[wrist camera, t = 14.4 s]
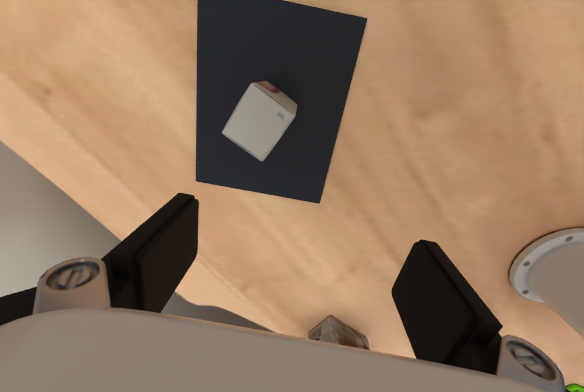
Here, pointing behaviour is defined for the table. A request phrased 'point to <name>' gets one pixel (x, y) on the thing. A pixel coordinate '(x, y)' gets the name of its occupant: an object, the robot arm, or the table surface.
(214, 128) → the desk mat
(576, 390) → the miniature room corner
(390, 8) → the table surface
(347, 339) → the coffee box
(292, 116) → the small box
